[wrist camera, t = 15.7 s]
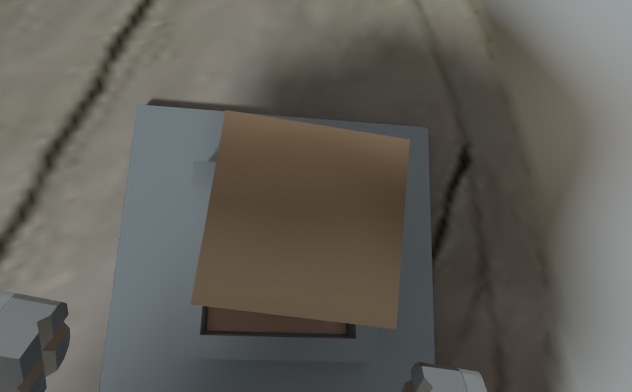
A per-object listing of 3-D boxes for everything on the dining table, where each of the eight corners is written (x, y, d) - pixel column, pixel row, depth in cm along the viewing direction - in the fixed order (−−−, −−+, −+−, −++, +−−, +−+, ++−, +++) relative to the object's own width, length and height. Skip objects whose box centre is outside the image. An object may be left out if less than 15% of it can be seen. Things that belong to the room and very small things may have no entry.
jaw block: (325, 317, 23) (396, 329, 11) (224, 305, 22) (190, 304, 11) (336, 219, 24) (409, 139, 12) (240, 206, 24) (225, 109, 12)
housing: (431, 430, 23) (454, 447, 20) (99, 430, 21) (76, 448, 19) (423, 132, 27) (441, 113, 24) (141, 110, 25) (127, 87, 22)
